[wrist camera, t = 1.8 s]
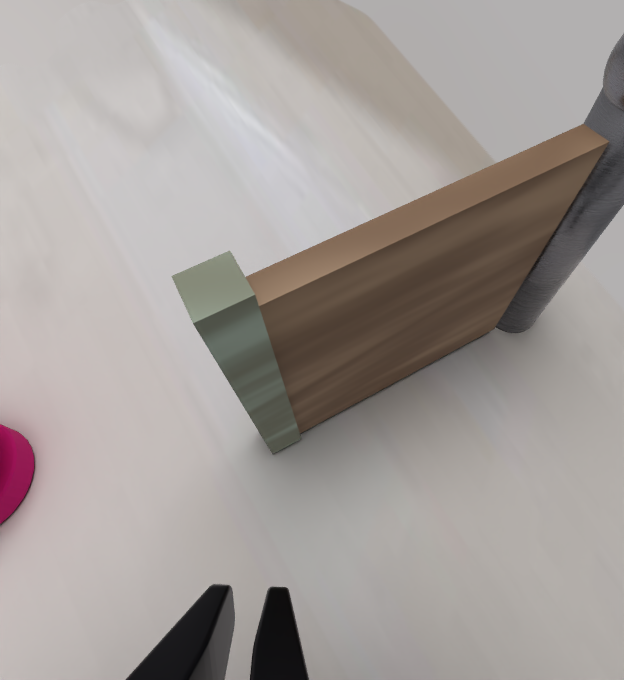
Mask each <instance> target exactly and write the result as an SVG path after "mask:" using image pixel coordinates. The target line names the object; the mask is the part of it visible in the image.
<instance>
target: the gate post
mask: <svg viewBox="0 0 624 680" xmlns="http://www.w3.org/2000/svg"><path fill="white" fill-rule="evenodd" d="M584 125H586V126H587V127H589V128H590V129H592V130H593V131H595V132H596V133H598V134H599V135H601V136H602V137H604V138H605V139H606V140H608V141H609V143H608V145H607V147H606V148H605V150H604V152H603V153H602V155H601V156H600V158H599V160H598V161H597V163H596V164H595V166H594V168H593V169H592V171H591V173H590V174H589V176H588V177H587V179H586V181H585V182H584V184H583V186H582V187H581V189H580V190H579V192H578V194H577V195H576V197H575V199H574V200H573V202H572V203H571V205H570V207H569V208H568V210H567V211H566V213H565V215H564V216H563V218H562V220H561V221H560V223H559V224H558V226H557V228H556V229H555V231H554V233H553V234H552V236H551V237H550V239H549V241H548V242H547V244H546V246H545V247H544V249H543V250H542V252H541V254H540V255H539V257H538V258H537V260H536V262H535V263H534V265H533V267H532V268H531V270H530V271H529V273H528V275H527V276H526V278H525V280H524V281H523V283H522V284H521V286H520V288H519V289H518V291H517V292H516V294H515V296H514V297H513V299H512V301H511V302H510V304H509V305H508V307H507V309H506V310H505V312H504V314H503V315H502V317H501V318H500V320H499V322H498V323H497V325H496V327H497V328H499V329H501V330H503V331H506V332H511V333H518V332H523V331H525V330H527V329H529V328H530V327H531V326H532V324H533V323H534V322H535V320H536V319H537V318H538V317H539V315H540V314H541V313H542V311H543V310H544V309H545V307H546V306H547V305H548V303H549V302H550V301H551V299H552V298H553V297H554V296H555V294H556V293H557V292H558V290H559V289H560V288H561V286H562V285H563V284H564V282H565V281H566V280H567V278H568V277H569V276H570V274H571V273H572V272H573V271H574V269H575V268H576V267H577V265H578V264H579V263H580V261H581V260H582V259H583V257H584V256H585V255H586V253H587V252H588V251H589V249H590V248H591V247H592V245H593V244H594V243H595V242H596V240H597V239H598V238H599V236H600V235H601V234H602V232H603V231H604V230H605V229H606V227H607V226H608V225H609V223H610V222H611V221H612V219H613V218H614V217H615V215H616V214H617V213H618V211H619V210H620V209H621V208H622V206H623V205H624V34H623V35H622V37H621V38H620V39H619V41H618V42H617V44H616V45H615V47H614V49H613V50H612V52H611V54H610V56H609V59H608V61H607V64H606V68H605V71H604V78H603V88H602V90H601V92H600V94H599V96H598V98H597V100H596V101H595V103H594V105H593V107H592V109H591V111H590V113H589V115H588V117H587V118H586V120H585V122H584Z"/></svg>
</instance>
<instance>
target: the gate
mask: <svg viewBox="0 0 624 680" xmlns="http://www.w3.org/2000/svg"><path fill="white" fill-rule="evenodd" d="M608 143H609V141H608V140H606V139H605V138H604V137H602V136H601V135H599V134H598V133H596V132H595V131H593V130H592V129H590V128H589V127H587V126H586V125H584V124H582V125H580V126H578V127H576V128H574V129H571V130H569V131H567V132H565V133H562V134H560V135H558V136H556V137H553V138H551V139H549V140H547V141H545V142H542V143H540V144H538V145H536V146H534V147H531V148H529V149H527V150H525V151H523V152H520V153H518V154H516V155H514V156H512V157H509V158H507V159H505V160H503V161H501V162H498V163H496V164H494V165H492V166H489V167H487V168H485V169H483V170H481V171H478V172H476V173H474V174H472V175H470V176H467V177H465V178H463V179H461V180H459V181H456V182H454V183H452V184H450V185H448V186H445V187H443V188H441V189H439V190H436V191H434V192H432V193H430V194H428V195H425V196H423V197H421V198H419V199H417V200H414V201H412V202H410V203H408V204H406V205H403V206H401V207H399V208H397V209H395V210H392V211H390V212H388V213H386V214H384V215H381V216H379V217H377V218H375V219H372V220H370V221H368V222H366V223H364V224H361V225H359V226H357V227H355V228H353V229H350V230H348V231H346V232H344V233H342V234H339V235H337V236H335V237H333V238H331V239H328V240H326V241H324V242H322V243H320V244H317V245H315V246H313V247H311V248H308V249H306V250H304V251H302V252H300V253H297V254H295V255H293V256H291V257H289V258H286V259H284V260H282V261H280V262H278V263H275V264H273V265H271V266H269V267H267V268H264V269H262V270H260V271H258V272H256V273H253V274H251V275H249V276H247V277H245V276H244V274H243V272H242V271H241V269H240V267H239V265H238V264H237V262H236V260H235V258H234V257H233V255H232V253H231V252H230V251H228V252H226V253H223V254H221V255H219V256H217V257H214V258H212V259H210V260H207V261H205V262H203V263H201V264H198V265H196V266H194V267H191V268H189V269H187V270H185V271H182V272H180V273H178V274H175V275H173V276H172V278H173V280H174V283H175V285H176V287H177V289H178V291H179V294H180V296H181V298H182V300H183V302H184V305H185V307H186V309H187V311H188V313H189V315H190V318H191V320H192V322H193V324H194V326H195V327H196V329H197V331H198V332H199V334H200V336H201V337H202V339H203V340H204V342H205V344H206V345H207V347H208V349H209V350H210V352H211V354H212V355H213V357H214V359H215V360H216V362H217V363H218V365H219V367H220V368H221V370H222V372H223V373H224V375H225V377H226V378H227V380H228V382H229V383H230V385H231V387H232V388H233V390H234V391H235V393H236V395H237V396H238V398H239V400H240V401H241V403H242V405H243V406H244V408H245V410H246V411H247V413H248V414H249V416H250V418H251V419H252V421H253V423H254V424H255V426H256V428H257V429H258V431H259V433H260V434H261V436H262V438H263V439H264V441H265V442H266V444H267V446H268V447H269V449H270V451H271V452H272V454H274V453H276V452H278V451H280V450H282V449H283V448H285V447H287V446H289V445H291V444H293V443H294V442H296V441H298V440H300V439H301V436H300V433H302V432H304V431H306V430H308V429H309V428H311V427H313V426H315V425H317V424H319V423H321V422H322V421H324V420H326V419H328V418H330V417H332V416H334V415H335V414H337V413H339V412H341V411H343V410H345V409H347V408H348V407H350V406H352V405H354V404H356V403H358V402H360V401H361V400H363V399H365V398H367V397H369V396H371V395H373V394H374V393H376V392H378V391H380V390H382V389H384V388H386V387H387V386H389V385H391V384H393V383H395V382H397V381H399V380H400V379H402V378H404V377H406V376H408V375H410V374H411V373H413V372H415V371H417V370H419V369H421V368H423V367H424V366H426V365H428V364H430V363H432V362H434V361H436V360H437V359H439V358H441V357H443V356H445V355H447V354H449V353H450V352H452V351H454V350H456V349H458V348H460V347H462V346H463V345H465V344H467V343H469V342H471V341H473V340H475V339H476V338H478V337H480V336H482V335H484V334H486V333H488V332H489V331H491V330H493V329H494V328H495V327H496V325H497V323H498V322H499V320H500V318H501V317H502V315H503V314H504V312H505V310H506V309H507V307H508V305H509V304H510V302H511V301H512V299H513V297H514V296H515V294H516V292H517V291H518V289H519V288H520V286H521V284H522V283H523V281H524V280H525V278H526V276H527V275H528V273H529V271H530V270H531V268H532V267H533V265H534V263H535V262H536V260H537V258H538V257H539V255H540V254H541V252H542V250H543V249H544V247H545V246H546V244H547V242H548V241H549V239H550V237H551V236H552V234H553V233H554V231H555V229H556V228H557V226H558V224H559V223H560V221H561V220H562V218H563V216H564V215H565V213H566V211H567V210H568V208H569V207H570V205H571V203H572V202H573V200H574V199H575V197H576V195H577V194H578V192H579V190H580V189H581V187H582V186H583V184H584V182H585V181H586V179H587V177H588V176H589V174H590V173H591V171H592V169H593V168H594V166H595V164H596V163H597V161H598V160H599V158H600V156H601V155H602V153H603V152H604V150H605V148H606V147H607V145H608Z"/></svg>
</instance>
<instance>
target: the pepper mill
mask: <svg viewBox="0 0 624 680" xmlns="http://www.w3.org/2000/svg"><path fill="white" fill-rule="evenodd" d="M33 472H34V455H33V452H32V448H31V446H30V444H29V442H28V440H27V439H26V438H25V437H24V436H22V435H21V434H20V433H19V432H17V431H15V430H12V429H10V428H8V427H5V426H3V425H1V424H0V524H1V523H2V522H3V521H4V520H5V519H6V518H8V517H9V516H10V515H11V514H12V513H13V512H14V511H15V509H16V508H17V506H18V505H19V504H20V502H21V501H22V500H23V498H24V497H25V495H26V492H27V490H28V488H29V486H30V484H31V480H32V476H33Z"/></svg>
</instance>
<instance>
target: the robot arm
mask: <svg viewBox="0 0 624 680" xmlns="http://www.w3.org/2000/svg"><path fill="white" fill-rule="evenodd" d="M234 624H235V612H234V601H233V591H232V588H231V586H230V585H222V584H213V585H211V586H210V587H209V588H208V589H207V590H206V591H205V592H204V593H203V595H202V596H201V597H200V598H199V599H198V600H197V601H196V602H195V603H194V604H193V606H192V607H191V608H190V609H189V610H188V611H187V612H186V613H185V614H184V616H183V617H182V618H181V619H180V620H179V621H178V622H177V623H176V624H175V626H174V627H173V628H172V629H171V630H170V631H169V632H168V633H167V634H166V636H165V637H164V638H163V639H162V640H161V641H160V642H159V643H158V644H157V646H156V647H155V648H154V649H153V650H152V651H151V652H150V653H149V654H148V656H147V657H146V658H145V659H144V660H143V661H142V662H141V663H140V664H139V666H138V667H137V668H136V669H135V670H134V671H133V672H132V673H131V674H130V675H129V677H128V678H127V679H126V680H224V679H225V674H226V668H227V663H228V658H229V652H230V647H231V641H232V636H233V631H234ZM250 680H309V677H308V673H307V668H306V664H305V659H304V655H303V651H302V646H301V642H300V637H299V633H298V628H297V624H296V620H295V615H294V611H293V606H292V602H291V598H290V593H289V590H288V588H286V587H270V588H269V589H268V591H267V595H266V599H265V603H264V606H263V610H262V614H261V618H260V622H259V626H258V630H257V634H256V638H255V642H254V647H253V654H252V664H251V674H250Z"/></svg>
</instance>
